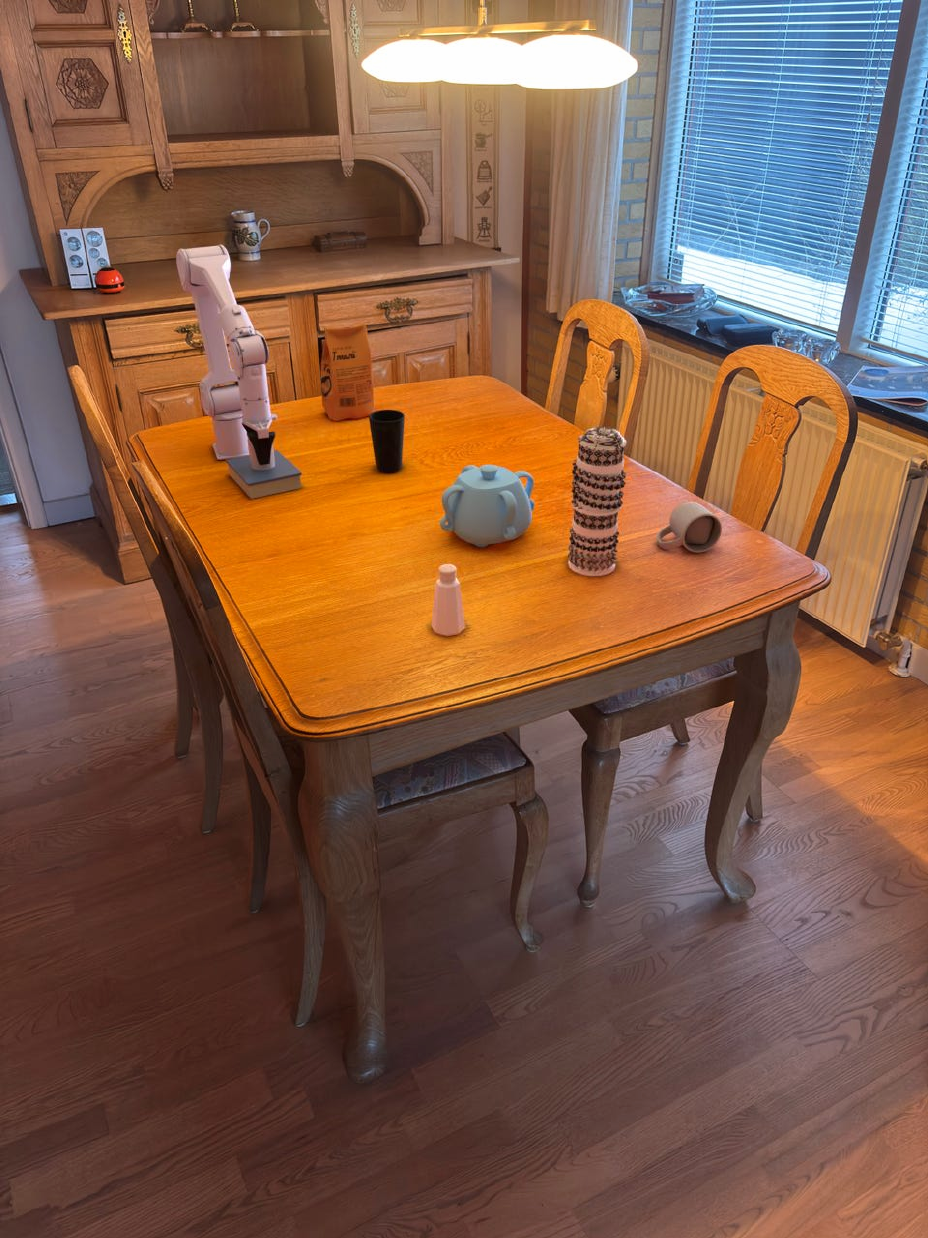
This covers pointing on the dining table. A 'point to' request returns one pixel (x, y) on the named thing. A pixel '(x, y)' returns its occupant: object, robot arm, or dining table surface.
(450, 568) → the salt shaker
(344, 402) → the coffee package
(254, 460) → the white cylindrical tumbler
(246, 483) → the blue hardcover book
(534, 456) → the dining table surface
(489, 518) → the decorative pot
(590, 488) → the decorative candle
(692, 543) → the ceramic mug
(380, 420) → the cup
